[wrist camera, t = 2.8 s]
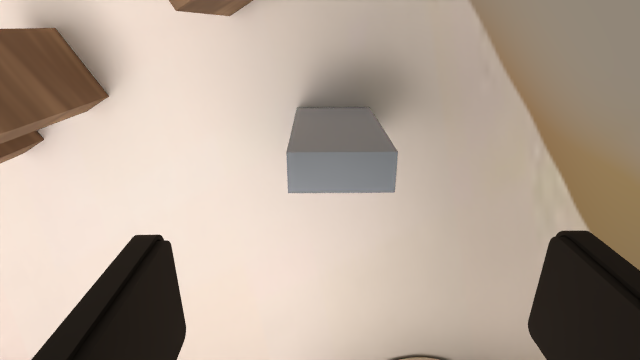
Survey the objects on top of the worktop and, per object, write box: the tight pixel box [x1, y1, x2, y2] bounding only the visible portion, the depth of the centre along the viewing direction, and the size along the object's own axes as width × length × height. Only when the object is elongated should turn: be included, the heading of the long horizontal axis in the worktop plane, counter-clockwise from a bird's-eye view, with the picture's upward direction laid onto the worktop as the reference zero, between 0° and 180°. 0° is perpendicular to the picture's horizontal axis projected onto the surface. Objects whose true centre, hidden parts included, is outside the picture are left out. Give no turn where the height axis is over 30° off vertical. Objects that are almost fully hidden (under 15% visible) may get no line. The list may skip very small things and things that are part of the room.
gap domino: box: [287, 107, 398, 193], centre depth 22 cm, size 2×5×10 cm, turn 90°
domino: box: [0, 28, 109, 144], centre depth 21 cm, size 2×5×10 cm, turn 30°
